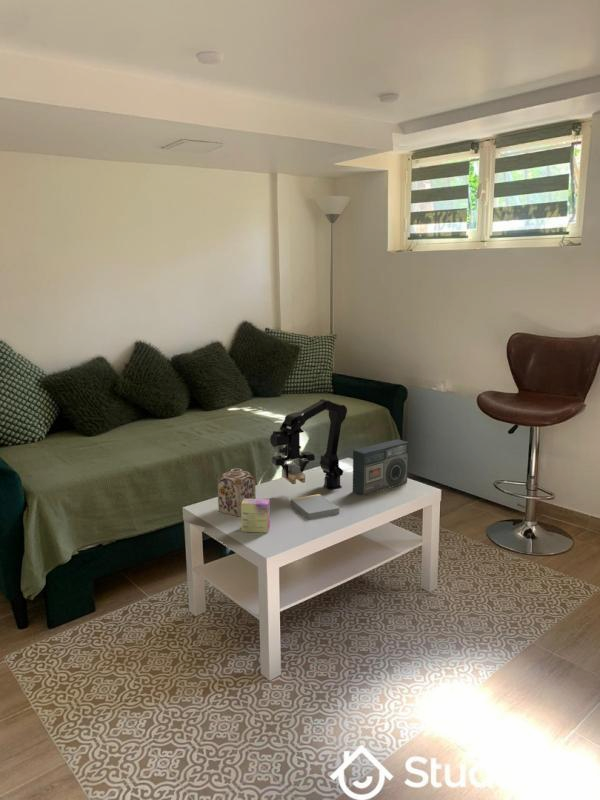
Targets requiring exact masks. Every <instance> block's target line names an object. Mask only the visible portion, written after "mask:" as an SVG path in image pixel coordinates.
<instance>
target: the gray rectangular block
mask: <svg viewBox="0 0 600 800" xmlns="http://www.w3.org/2000/svg"><path fill="white" fill-rule="evenodd" d="M287 464H288V472H289V473H291V474H297V473H300V466H299V464H297V463H296V462H290V463H287Z"/></svg>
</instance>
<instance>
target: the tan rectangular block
mask: <svg viewBox="0 0 600 800" xmlns="http://www.w3.org/2000/svg"><path fill="white" fill-rule="evenodd" d="M281 477H282V478H283V479H285V480H286V481H288V482H289V483H290V484H292V485H297V481H299V482H301V483H306V474H305V473H303V472H301V471H300V473H297V474H291V473H289V472H288V478H286V476H285V473H284V471H283V468H281Z"/></svg>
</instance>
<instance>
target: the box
mask: <svg viewBox="0 0 600 800" xmlns="http://www.w3.org/2000/svg"><path fill="white" fill-rule="evenodd" d="M270 503H271V500H270V499H268V498H267V499H265V498H262V499H261V498H256V499H245V498H244V499H243V501H242V503H241V516H240V518H241V532H242V533H244V532H245V533H248V532H249V533H264V534H268V533H269V531H270V528H271V517H270V516H271V508H270V507H271V504H270Z"/></svg>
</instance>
